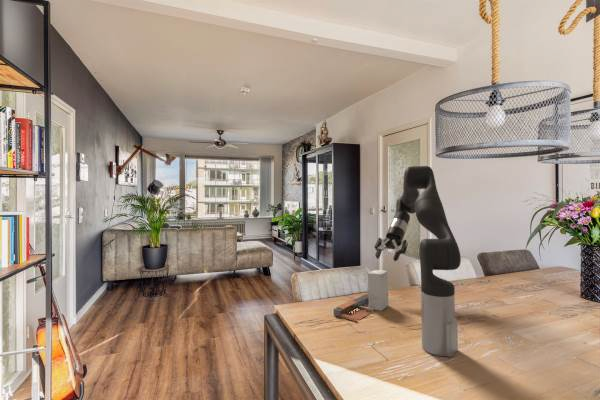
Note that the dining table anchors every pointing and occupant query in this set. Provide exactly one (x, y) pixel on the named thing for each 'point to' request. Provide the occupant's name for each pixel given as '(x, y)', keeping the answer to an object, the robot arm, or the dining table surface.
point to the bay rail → (350, 306)
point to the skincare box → (378, 289)
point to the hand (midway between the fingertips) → (385, 258)
